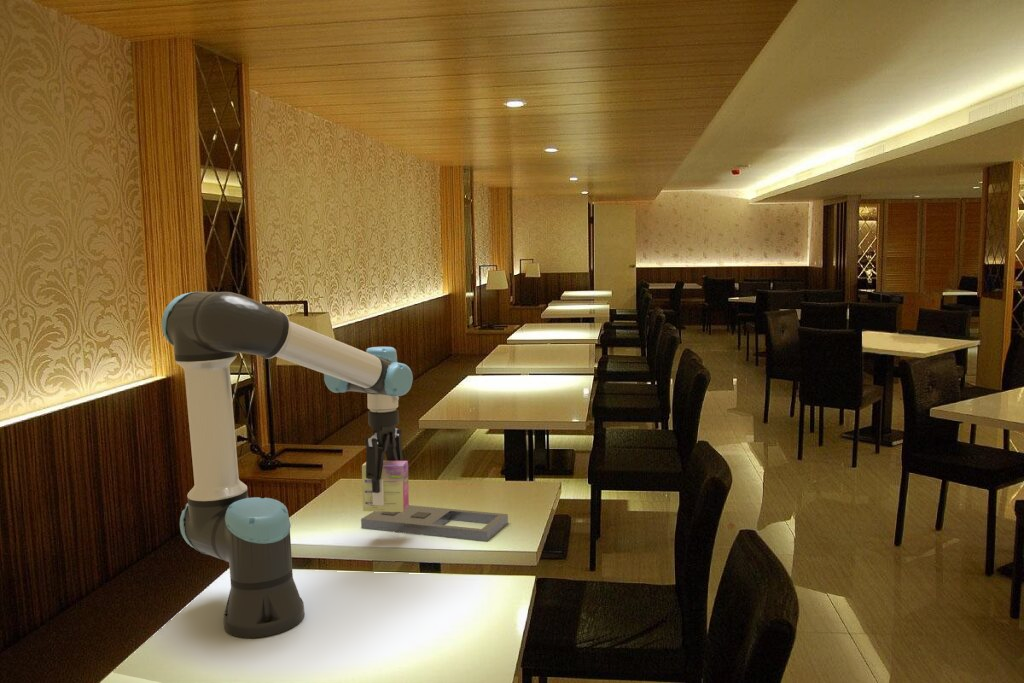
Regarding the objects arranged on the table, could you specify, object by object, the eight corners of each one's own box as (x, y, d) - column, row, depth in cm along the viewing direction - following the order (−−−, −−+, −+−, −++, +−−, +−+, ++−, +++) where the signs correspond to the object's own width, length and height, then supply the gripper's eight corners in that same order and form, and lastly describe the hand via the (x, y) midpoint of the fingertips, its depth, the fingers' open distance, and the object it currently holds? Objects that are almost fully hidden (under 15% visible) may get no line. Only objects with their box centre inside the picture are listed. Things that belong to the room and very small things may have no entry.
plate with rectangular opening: (487, 541, 197) (486, 531, 197) (361, 528, 210) (361, 518, 210) (508, 523, 210) (507, 513, 210) (388, 511, 223) (388, 502, 223)
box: (409, 506, 201) (408, 459, 200) (403, 512, 196) (402, 465, 195) (369, 505, 202) (367, 459, 201) (362, 512, 197) (361, 465, 196)
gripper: (375, 416, 186) (378, 513, 188) (415, 403, 205) (418, 492, 206) (348, 415, 189) (351, 510, 191) (390, 402, 207) (392, 489, 209)
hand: (386, 500), depth 199 cm, fingers closed on box, 7 cm apart
